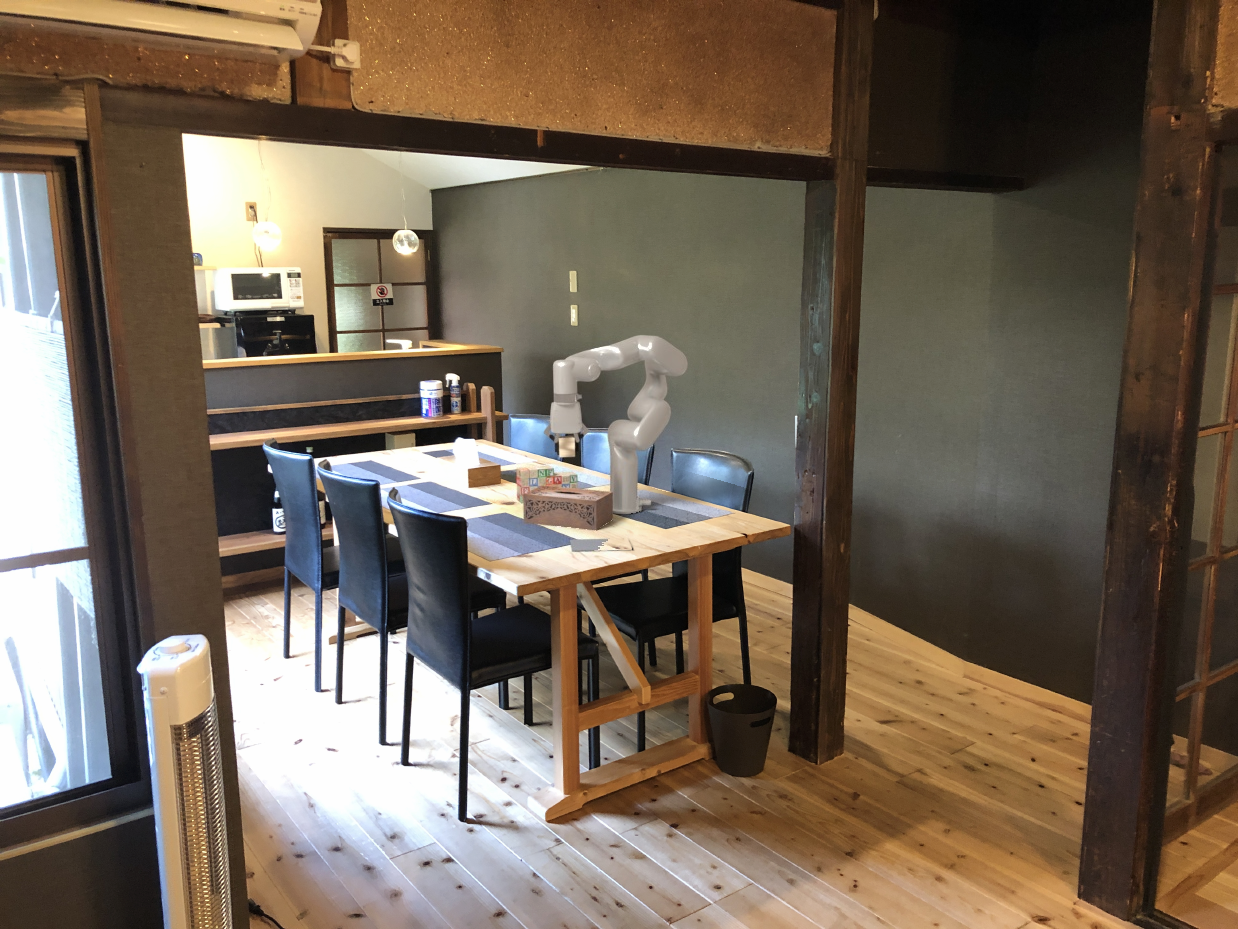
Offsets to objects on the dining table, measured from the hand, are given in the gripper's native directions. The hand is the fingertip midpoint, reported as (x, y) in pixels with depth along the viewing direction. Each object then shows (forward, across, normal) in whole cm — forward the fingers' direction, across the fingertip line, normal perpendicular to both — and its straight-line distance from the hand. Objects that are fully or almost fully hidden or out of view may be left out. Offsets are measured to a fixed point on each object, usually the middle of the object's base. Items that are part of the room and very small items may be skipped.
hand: (566, 453), depth 306 cm
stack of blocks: (+24, +6, -34) cm, 41 cm away
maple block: (+1, 0, 0) cm, 1 cm away
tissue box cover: (+24, 0, 0) cm, 24 cm away
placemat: (+23, -8, +30) cm, 38 cm away
